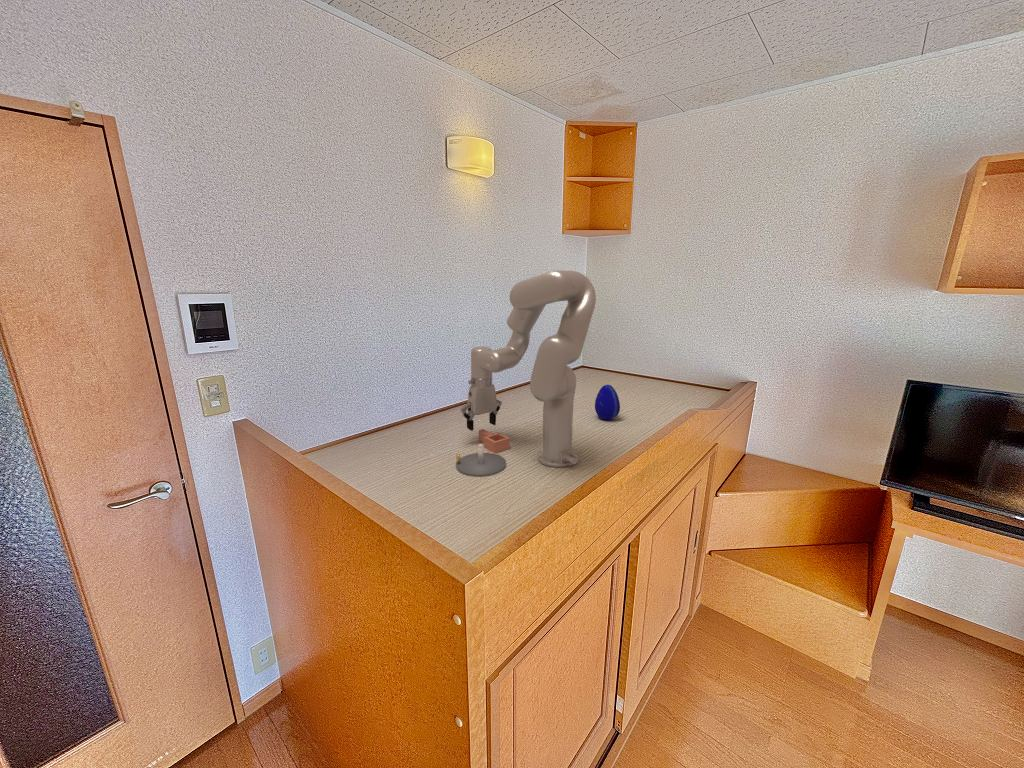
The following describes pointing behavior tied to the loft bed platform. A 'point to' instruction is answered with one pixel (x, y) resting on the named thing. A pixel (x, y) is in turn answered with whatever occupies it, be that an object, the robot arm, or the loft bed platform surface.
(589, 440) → the loft bed platform surface
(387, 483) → the loft bed platform surface
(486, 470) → the post base
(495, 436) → the orange square loop
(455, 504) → the loft bed platform surface
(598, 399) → the ornament
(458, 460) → the dowel pin
